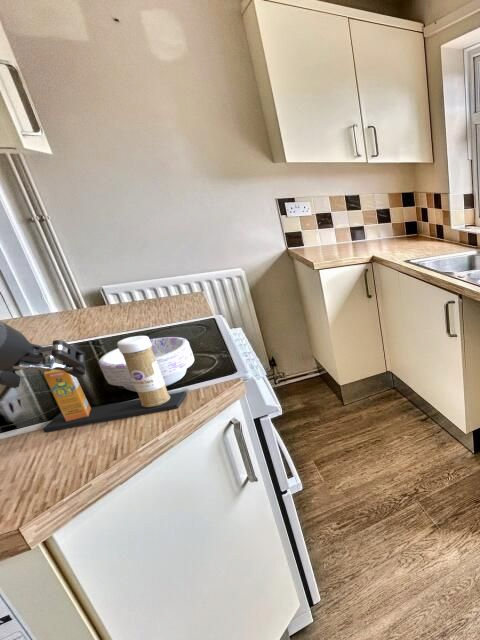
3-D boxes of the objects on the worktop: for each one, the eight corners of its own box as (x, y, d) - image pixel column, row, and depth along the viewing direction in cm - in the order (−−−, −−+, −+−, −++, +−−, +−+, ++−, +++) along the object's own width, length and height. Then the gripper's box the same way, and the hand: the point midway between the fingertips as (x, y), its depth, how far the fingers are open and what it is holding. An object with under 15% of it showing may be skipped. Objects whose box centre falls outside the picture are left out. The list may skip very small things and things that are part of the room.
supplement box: (64, 423, 77) (40, 373, 73) (68, 415, 79) (45, 367, 75) (89, 417, 78) (66, 368, 75) (92, 409, 81) (71, 362, 77)
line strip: (44, 432, 75) (42, 428, 75) (61, 416, 80) (60, 412, 80) (178, 408, 82) (176, 404, 82) (186, 394, 87) (185, 391, 87)
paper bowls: (98, 405, 84) (81, 369, 81) (129, 374, 97) (116, 342, 94) (188, 390, 89) (176, 356, 86) (206, 362, 102) (196, 332, 99)
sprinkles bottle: (138, 410, 80) (111, 345, 75) (147, 399, 84) (122, 337, 79) (167, 405, 82) (142, 341, 77) (174, 394, 86) (151, 333, 81)
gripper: (38, 307, 63) (102, 350, 77) (-99, 321, 58) (-4, 365, 72) (33, 353, 60) (100, 389, 74) (-111, 372, 55) (-9, 406, 69)
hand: (49, 377), depth 73 cm, fingers open, 8 cm apart
